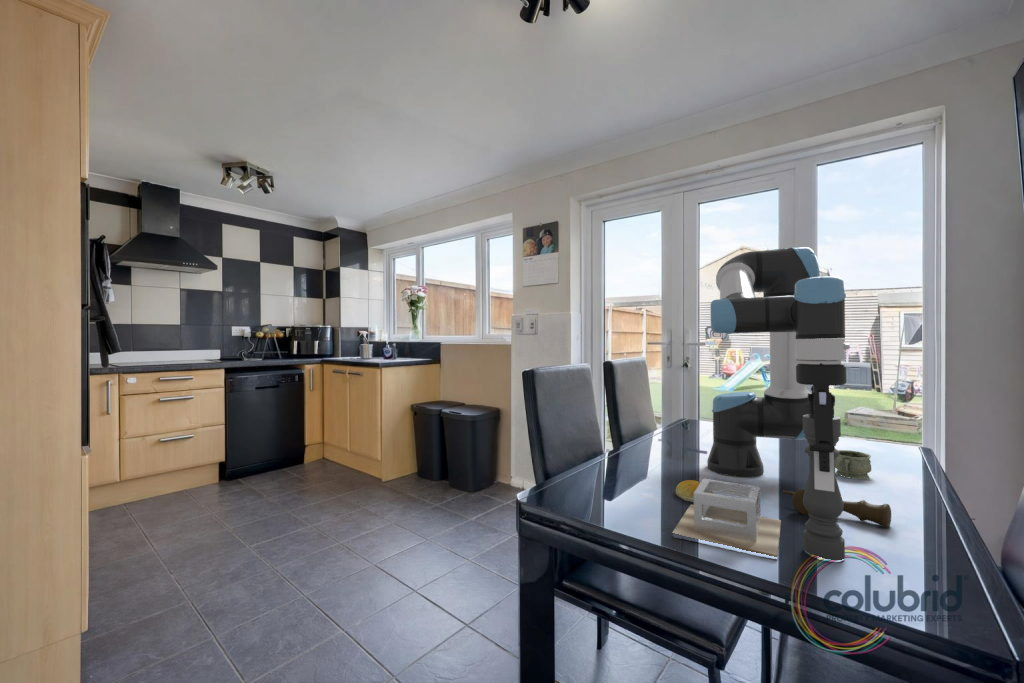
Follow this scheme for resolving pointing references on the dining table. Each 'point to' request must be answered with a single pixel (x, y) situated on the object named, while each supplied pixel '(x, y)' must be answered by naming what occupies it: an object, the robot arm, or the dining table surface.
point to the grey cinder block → (727, 509)
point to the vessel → (853, 464)
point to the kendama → (851, 509)
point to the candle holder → (822, 504)
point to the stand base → (764, 544)
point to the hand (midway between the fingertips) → (822, 479)
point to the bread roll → (687, 489)
